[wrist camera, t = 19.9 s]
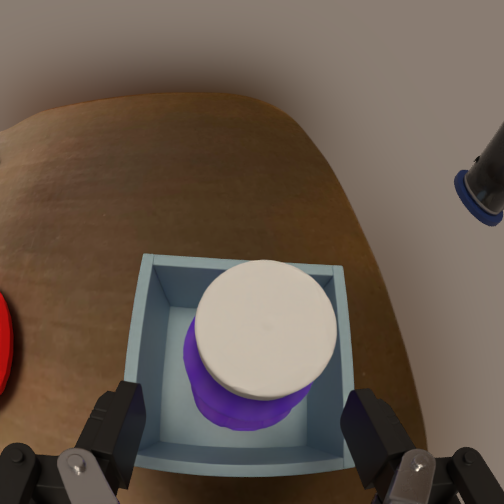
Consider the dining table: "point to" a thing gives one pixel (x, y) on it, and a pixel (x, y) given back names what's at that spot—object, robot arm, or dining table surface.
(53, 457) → the robot arm
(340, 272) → the blue-gray open bin
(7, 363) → the red disc with nozzle
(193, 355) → the bottle
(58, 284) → the dining table surface
